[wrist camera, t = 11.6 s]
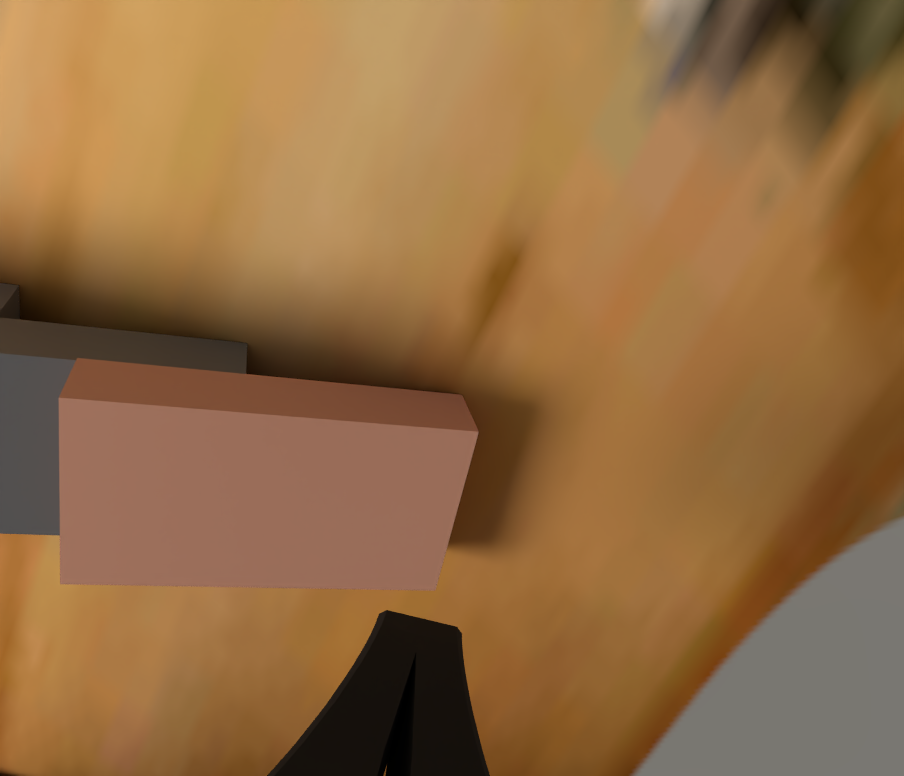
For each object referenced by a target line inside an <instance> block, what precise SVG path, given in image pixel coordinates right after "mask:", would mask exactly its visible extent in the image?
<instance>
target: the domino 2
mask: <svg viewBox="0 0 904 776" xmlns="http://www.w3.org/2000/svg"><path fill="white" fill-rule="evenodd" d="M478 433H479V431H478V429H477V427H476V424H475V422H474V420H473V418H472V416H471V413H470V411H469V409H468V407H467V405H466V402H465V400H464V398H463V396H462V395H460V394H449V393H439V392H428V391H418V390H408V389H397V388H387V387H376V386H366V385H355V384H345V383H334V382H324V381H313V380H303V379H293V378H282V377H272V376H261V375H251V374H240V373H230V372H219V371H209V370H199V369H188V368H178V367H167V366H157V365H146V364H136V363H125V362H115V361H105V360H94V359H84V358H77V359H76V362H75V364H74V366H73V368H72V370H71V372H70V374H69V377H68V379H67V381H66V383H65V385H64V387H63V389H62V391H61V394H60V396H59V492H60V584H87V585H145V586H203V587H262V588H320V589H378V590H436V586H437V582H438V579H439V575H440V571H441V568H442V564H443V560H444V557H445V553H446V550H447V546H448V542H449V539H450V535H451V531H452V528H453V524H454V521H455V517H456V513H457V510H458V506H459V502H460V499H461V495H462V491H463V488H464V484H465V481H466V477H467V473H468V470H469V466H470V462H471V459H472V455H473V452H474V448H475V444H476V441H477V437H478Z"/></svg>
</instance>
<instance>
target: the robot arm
mask: <svg viewBox="0 0 904 776" xmlns="http://www.w3.org/2000/svg"><path fill="white" fill-rule="evenodd" d="M386 765H387V768H386ZM385 768H386V776H490V775H489V772H488V768H487V765H486V761H485V758H484V754H483V751H482V747H481V743H480V739H479V735H478V731H477V727H476V723H475V719H474V715H473V711H472V706H471V701H470V697H469V691H468V686H467V680H466V674H465V667H464V660H463V650H462V633H461V632H460V630H459V629H458V628H457V627H455V626H451V625H447V624H443V623H439V622H434V621H430V620H426V619H422V618H418V617H413V616H409V615H405V614H401V613H397V612H392V611H388V610H386V611H384V612H382V613H380V614H379V616H378V618H377V621H376V624H375V626H374V628H373V630H372V633H371V635H370V637H369V639H368V641H367V642H366V644H365V646H364V648H363V650H362V651H361V653H360V655H359V656H358V658H357V660H356V661H355V663H354V665H353V666H352V668H351V669H350V671H349V672H348V674H347V675H346V677H345V678H344V680H343V681H342V683H341V684H340V686H339V687H338V688H337V690H336V691H335V693H334V694H333V696H332V697H331V699H330V700H329V701H328V703H327V704H326V705H325V707H324V708H323V709H322V711H321V712H320V713H319V715H318V716H317V717H316V718H315V720H314V721H313V722H312V723H311V725H310V726H309V727H308V728H307V730H306V731H305V732H304V734H303V735H302V736H301V737H300V739H299V740H298V741H297V742H296V744H295V745H294V746H293V747H292V748H291V749H290V751H289V752H288V753H287V754H286V755H285V756H284V758H283V759H282V760H281V761H280V762H279V763H278V764H277V765H276V767H275V768H274V769H273V770H272V771H271V772H270V773H269V774H268V775H267V776H383V775H384V772H385Z"/></svg>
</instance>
